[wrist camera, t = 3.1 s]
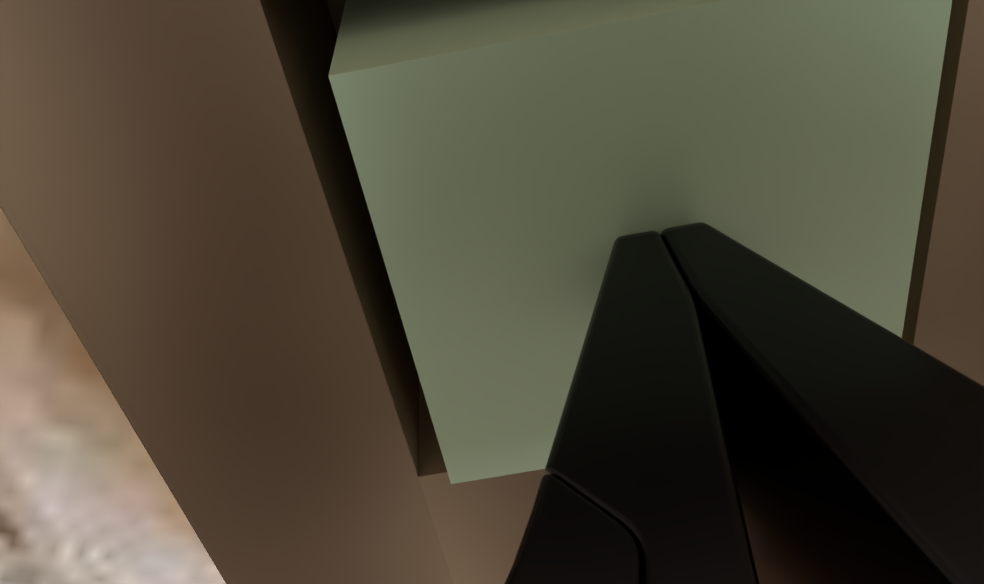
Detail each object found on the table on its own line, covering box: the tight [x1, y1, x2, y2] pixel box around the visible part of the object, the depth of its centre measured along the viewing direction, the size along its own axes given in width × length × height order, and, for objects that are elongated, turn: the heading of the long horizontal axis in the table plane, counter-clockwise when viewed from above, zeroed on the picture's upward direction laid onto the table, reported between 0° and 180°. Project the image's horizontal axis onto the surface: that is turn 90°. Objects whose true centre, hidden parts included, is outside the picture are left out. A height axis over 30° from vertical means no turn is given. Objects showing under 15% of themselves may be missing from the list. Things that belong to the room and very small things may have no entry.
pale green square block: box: [328, 0, 952, 484], centre depth 9 cm, size 5×5×3 cm
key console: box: [0, 0, 984, 584], centre depth 16 cm, size 12×28×4 cm, turn 10°
